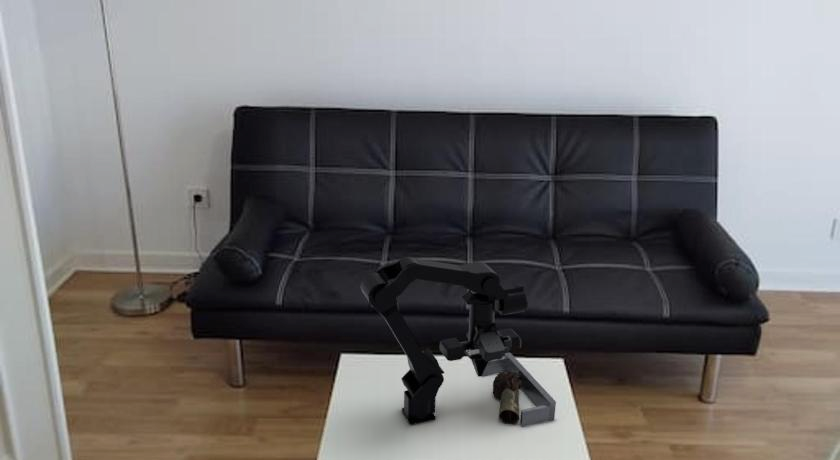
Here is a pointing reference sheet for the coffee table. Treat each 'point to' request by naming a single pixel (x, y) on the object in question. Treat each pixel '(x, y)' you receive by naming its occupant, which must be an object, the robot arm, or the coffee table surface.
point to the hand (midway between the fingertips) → (479, 375)
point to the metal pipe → (507, 396)
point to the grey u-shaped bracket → (526, 390)
